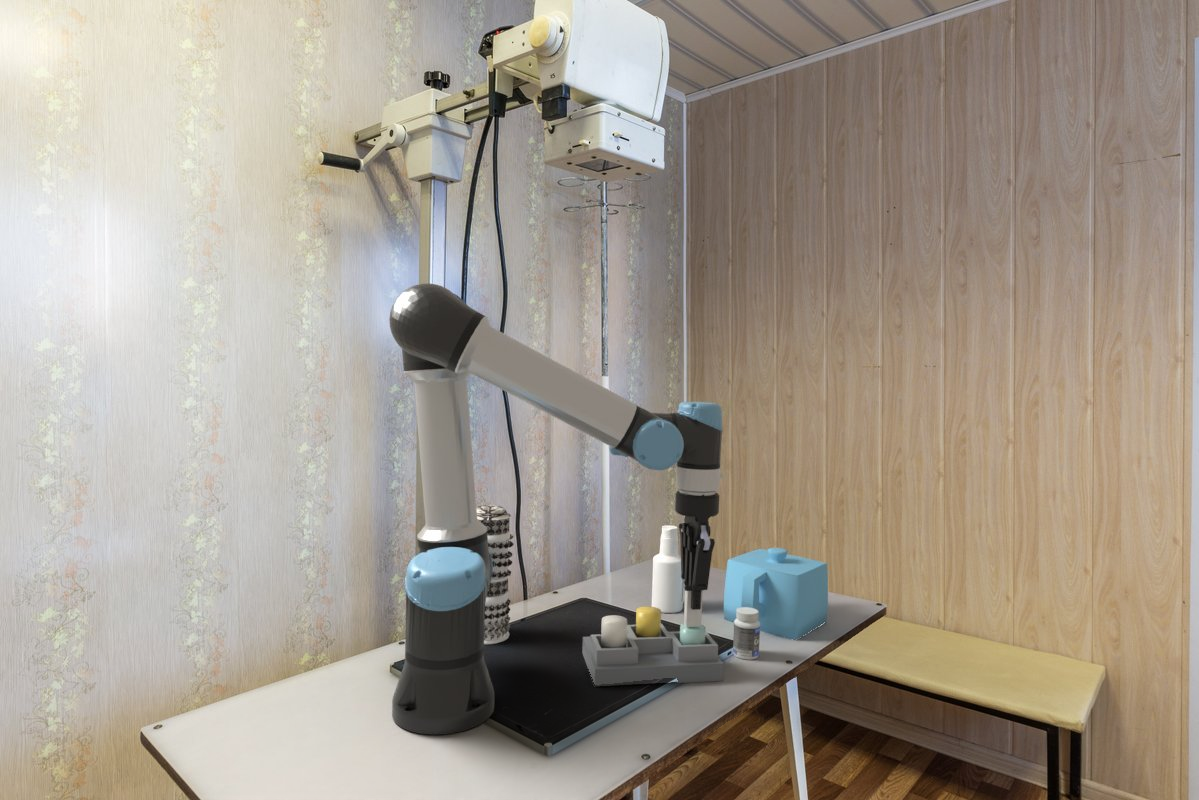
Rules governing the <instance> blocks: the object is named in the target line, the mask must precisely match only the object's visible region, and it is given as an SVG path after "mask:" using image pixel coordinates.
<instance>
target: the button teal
mask: <svg viewBox="0 0 1199 800" xmlns="http://www.w3.org/2000/svg"><path fill="white" fill-rule="evenodd" d="M705 630H706V626H705V625H703V624H701V627H686V626H685V625H684V622H683V623H681V624H680V625H679V631H680V643H681V645H698V644H705ZM706 631H707V630H706Z"/></svg>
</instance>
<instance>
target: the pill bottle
mask: <svg viewBox="0 0 1199 800" xmlns="http://www.w3.org/2000/svg"><path fill="white" fill-rule="evenodd" d="M736 617H737V619H735V621H734V622H733V643H732V648H733V649H732V653H733V655H734V657H736V658H738V659H742V660H755V659H758V657H759V655H760V637H761V636H760V635H761V634H760V633H761V631H760V623H759V621H758V618H759V612H758V610H756V609H754V608H749V607H741V608H738V609H737V613H736Z"/></svg>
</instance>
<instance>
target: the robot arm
mask: <svg viewBox="0 0 1199 800" xmlns="http://www.w3.org/2000/svg"><path fill="white" fill-rule="evenodd" d="M388 323H389V327H390V332H391V334H392V337H393V339H394V340H395V342H396V344H397V345H398V346H399V347H400V348H401V353H402V354H401V356H402V365H403V374H404V375H405V376H407V377H408V378H409V379H410V380H411V381H412V382H413V384H414V397H415V409H416V410H415V411H416V422H417V432H418V433H417V435H418V446H419V457H420V458H419V459H420V470H421V471H420V473H421V484H422V485H421V486H422V495H423V497H422V498H423V509H424V521H425V522H424V523H425V524H424V525H423V528H421V530H420V531H419V532H418V534H416V537H417V552H418V554H417V555H415V556H414V557H413V558H411V560H410V561H409V563H408V566H407V568H406V574H405V575H406V576H405V578H404V587H405V588H404V589H405V630H404V631H405V634H404V636H405V639H404V640H405V643H404V644H405V645H404V646H405V648H404V649H405V650H404V652H405V653H404V654H405V655H404V664H403V667H402V670H401V673H400V675H399V679H398V681H397V684H396V687H395V690H394V694H393V695H392V703H391V705H392V706H391V709H392V710H391V714H392V715H391V718H392V720H393V722H394V723H395V724H397V725H398V726H399V727H401V728H403V729H404V730H406V731H409V732H412V733H416V734H422V735H424V734H425V735H446V734H447V735H448V734H455V733H459V732H463V731H467V730H470V729H473V728H475V727H478V726H479V725H481V724H482V723H485V722H486V721H487V720H488V719H489V718H490V717H491V716H492V715H493V713H494V710H495V690H494V686H493V683H492V681H491V680H492V679H491V677H490V674H489V670H488V668H487V663H486V661H485V658H484V657H485V656H484V655H485V653H484V652H485V651H484V650H485V646H484V645H485V644H484V619H485V603H486V597H487V593H488V588H489V585H490V582H491V577H492V573H493V564H492V559H491V557H490V553H489V548H488V536H487V527H486V526H485V525H484V524H482V523H481V522H480V521H479V520H478V519H477V510H476V507H477V500H476V486H475V474H474V472H475V470H474V460H473V448H472V446H473V445H472V434H471V421H470V419H471V418H470V408H469V407H470V406H469V393H468V377H469V376H470V375H471V374H472V375H473V376H475V377H477V378H480V379H481V380H483V381H485V382H487V383H489V384H490V385H493V386H494V387H496V388H498V389H500V390H502V391H504V392H506V393H508V394H510V395H512V396H514V397H515V398H518V399H519V400H520V401H523V402H526V404H528V405H531V406H533V407H535V408H537V409H538V410H541V412H544V413H547V415H550V416H551V417H553V418H556V419H557V420H559V421H561V422H563V423H564V424H567V425H569V426H570V427H573V428H575V429H577V430H578V431H580V432H582V433H585V434H586V435H588V436H589V437H592V438H594V439H596V440H598V441H599V442H601V443H603V444H605V445H607V446H608V450H609V453H610V454H611V455H613V456H621V457H626V458H628V457H629V458H631V459H633V460H635V461H636V462H638V463H639V465H641V466H642V467H644V468H647V469H649V470H652V471H664V470H668V469H671V468H672V467H673V466H676V469H675V488H676V489H677V492H675V502H674V503H675V504H674V505H675V506H674V511H675V512H676V514H679V515H681V516H684V518H683V523H679V524H678V529H679V537H680V540H679V541H680V542H679V544H680V556H681V578H682V579H684V584H683V589H684V605H683V609H684V610H683V613H684V614H683V623H684V625H685V626H686V627H701V625H702V621H703V620H702V619H703V618H702V617H703V613H702V612H703V591H707V590H708V587H709V580H710V572H711V563H712V555H713V550H714V547H715V543H716V541H715V539H714V538H710V537H711V526H710V523H709V519H710V518H711V517H712V518H713V517H716V516H718V515H719V512H720V510H719V509H720V495H719V493H718V491H719V490H720V483H721V481H720V480H721V479H720V478H722V477H723V473H722V471H721V458H722V457H721V456H722V455H721V454H722V440H723V439H722V437H723V432H724V431H723V430H724V429H723V410H722V407H721V406H720V405H719V404H718V403H714V402H706V401H682V402H680V403H679V404H678V409H677V412H673V413H672V412H669V413H664V412H651V411H648V410H646V409H645V408H643V407H641V406H638V405H637V404H636V403H633V402H632V401H630V400H628V399H626V398H624V397H622V396H621V395H618V394H617V393H615V392H614V391H611V390H610V389H608V388H606V387H603V386H602V385H600V384H599V383H597V382H595V381H593V380H592V379H589V378H587V377H585V376H584V375H582V374H580V373H578V372H577V371H574V370H572V369H571V368H569V367H567V366H565V365H563V364H561V363H560V362H558V361H555V360H554V359H553V358H550V357H548V356H546V355H545V354H543V353H541V352H539V351H537V350H536V349H533V348H531V347H529V345H528V346H527V345H526V344H524V343H522V342H520V341H518V340H516V339H515V338H513V337H511V336H509V335H507V334H506V333H504V332H502V331H500V330H498V329H496V328H494V327H492V326H491V323H490V320H489V319H488V316H486V315H484V314H483V313H480V312H479V311H477V310H476V309H473V308H472V307H471V306H469V305H468V304H467V303H466V302H465V300H463V299H462V298H461V297H460V296H459V295H457V294H456V293H454V292H453V291H451V290H450V289H448V288H446V287H444V286H442V285H439V284H436V283H430V282H428V283H420V284H416V285H412V286H410V287H408V288H406V289H405V290H403V291H402V292H401V293H400V294H399V295H398V296H397V297H396V299H395V300H394V301H393V304H392V305H391V308H390V311H389V321H388Z"/></svg>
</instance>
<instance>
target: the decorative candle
mask: <svg viewBox="0 0 1199 800" xmlns="http://www.w3.org/2000/svg"><path fill="white" fill-rule="evenodd" d="M476 510H477V519H478V520H479V521H480V522H481V523H482V524H484V525H485V526H486V527H487V536H488V548H489V553H490V557H491V559H492V564H493V573H492V577H491V582H490V585H489V588H488V593H487V597H486V603H485V619H484V645H494V644H498V643H502V642H504V641H506V640H507V639H509V637H510V632H509V631H510V628H511V625H510V621H511V617H510V616H509V614H510V611H511V608H510V604H511V601H512V600H511V599H510V597H509V596H510V590H509V579H510V577H511V575H512V571H511V570H510V569H508V568H509V567H510V566H511V565H512V564H513V560H510V558H511V557H513V552H511V551H510V550H509V549H511V548H512V547H513V546H514V542H513V541H512V539H513V538H514V535H512V534H511V530H510V517H512V515H511V513H508V512H507V510H506V509H505V508H504V507H503V506H501V505H495V504H485V505H479V506H476Z"/></svg>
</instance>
